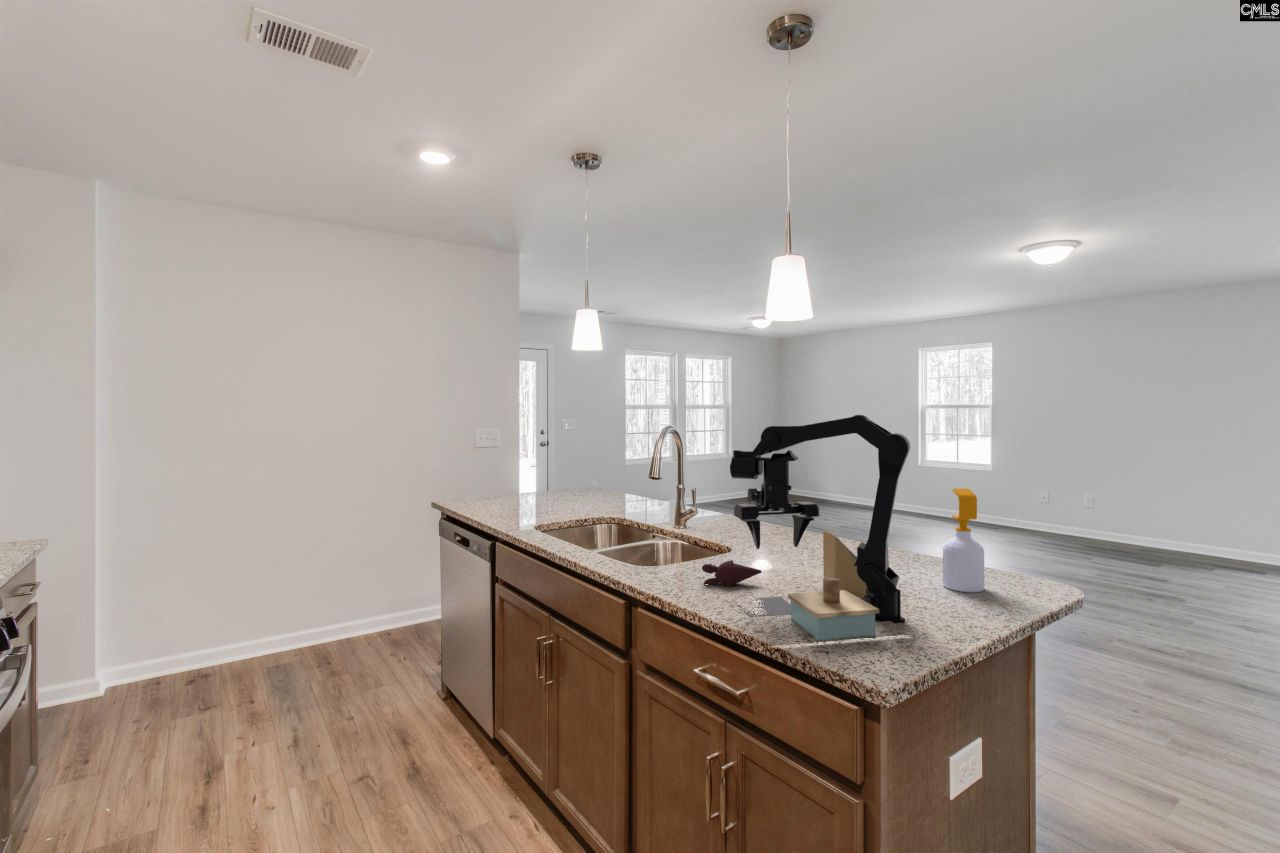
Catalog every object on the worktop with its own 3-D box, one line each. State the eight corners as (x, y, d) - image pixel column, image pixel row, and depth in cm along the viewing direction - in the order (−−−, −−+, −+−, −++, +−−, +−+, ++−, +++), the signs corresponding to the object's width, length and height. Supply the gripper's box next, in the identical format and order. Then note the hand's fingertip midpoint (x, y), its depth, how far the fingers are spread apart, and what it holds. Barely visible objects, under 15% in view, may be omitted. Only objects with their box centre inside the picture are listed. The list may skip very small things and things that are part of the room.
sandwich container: (899, 597, 142) (899, 534, 142) (835, 598, 142) (835, 536, 141) (883, 587, 151) (883, 528, 150) (823, 588, 150) (823, 529, 150)
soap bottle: (973, 582, 153) (973, 487, 152) (991, 593, 144) (991, 491, 143) (937, 582, 154) (936, 487, 153) (952, 592, 144) (951, 491, 144)
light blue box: (843, 617, 128) (843, 594, 128) (875, 638, 116) (875, 612, 116) (791, 621, 126) (790, 598, 126) (817, 643, 114) (817, 617, 114)
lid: (844, 593, 128) (844, 569, 128) (879, 613, 115) (879, 586, 115) (787, 597, 126) (787, 573, 126) (816, 618, 113) (816, 590, 113)
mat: (780, 599, 141) (779, 596, 141) (802, 615, 129) (802, 613, 129) (731, 602, 139) (731, 599, 139) (749, 619, 127) (749, 616, 127)
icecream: (758, 557, 156) (700, 562, 157) (761, 556, 149) (701, 562, 150) (761, 584, 154) (703, 589, 155) (765, 585, 147) (704, 590, 148)
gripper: (798, 475, 147) (799, 538, 147) (726, 477, 144) (726, 542, 144) (820, 480, 136) (820, 548, 136) (742, 482, 133) (742, 552, 133)
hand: (776, 547), depth 138 cm, fingers open, 9 cm apart
